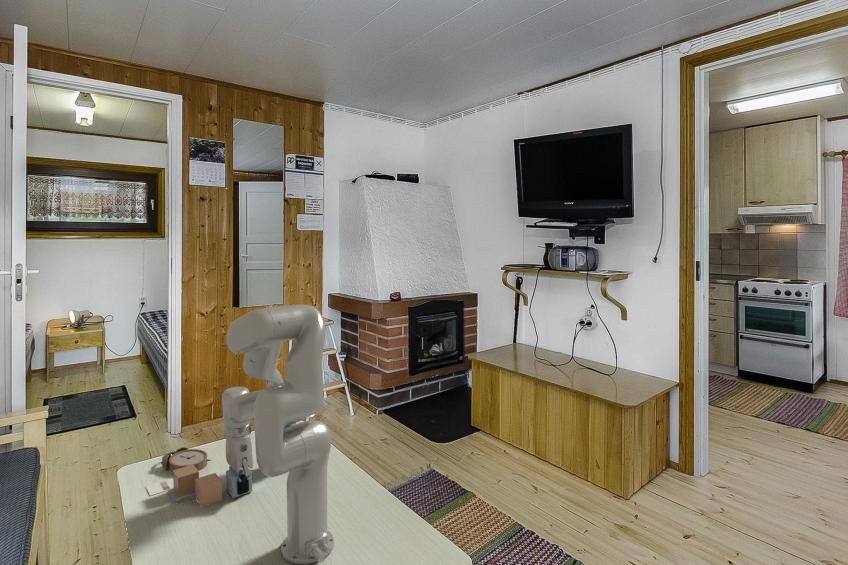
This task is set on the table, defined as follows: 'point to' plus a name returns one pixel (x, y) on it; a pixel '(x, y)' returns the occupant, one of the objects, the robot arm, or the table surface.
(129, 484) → the table surface
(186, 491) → the base
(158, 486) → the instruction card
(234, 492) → the blue block
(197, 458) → the alarm clock
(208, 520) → the table surface
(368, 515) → the table surface
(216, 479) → the terracotta block
